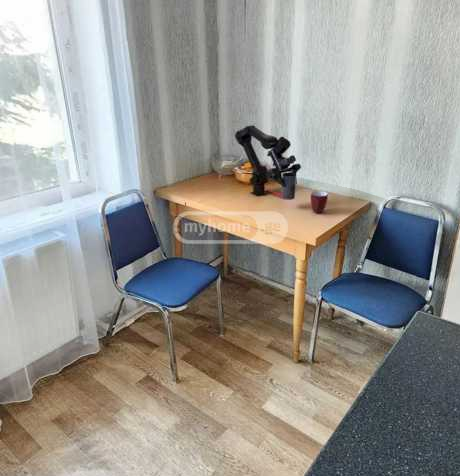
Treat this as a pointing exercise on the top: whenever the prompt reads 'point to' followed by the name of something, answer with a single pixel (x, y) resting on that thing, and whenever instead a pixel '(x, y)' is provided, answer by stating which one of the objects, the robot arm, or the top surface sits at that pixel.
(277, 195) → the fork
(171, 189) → the top surface
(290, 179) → the grey cylindrical cup
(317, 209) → the mug
